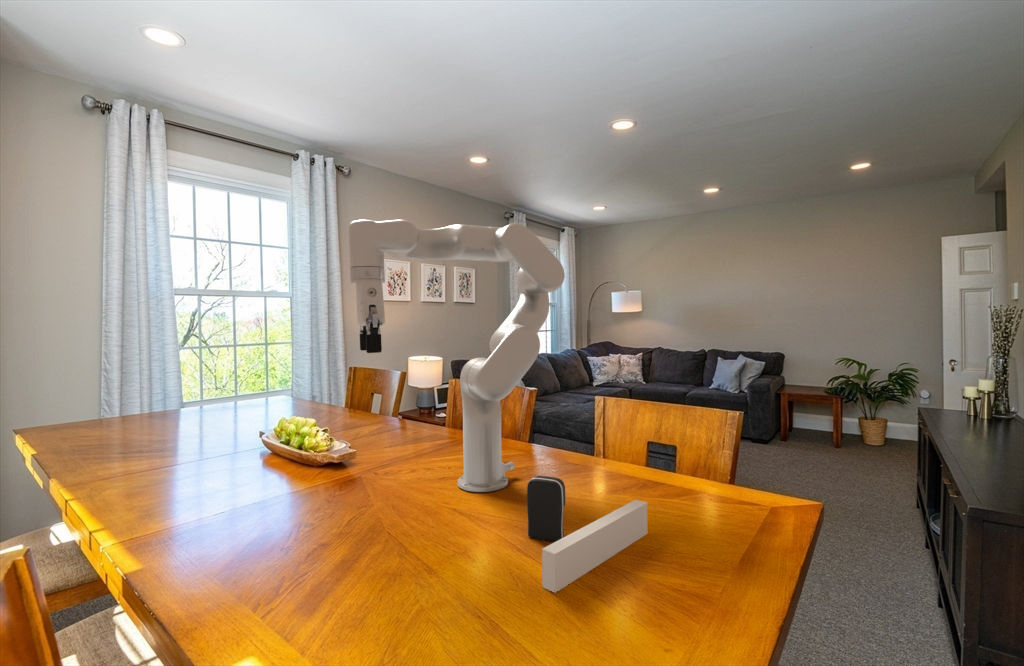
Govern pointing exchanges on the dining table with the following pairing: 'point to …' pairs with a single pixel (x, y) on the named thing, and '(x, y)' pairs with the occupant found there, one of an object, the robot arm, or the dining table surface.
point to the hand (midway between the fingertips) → (370, 351)
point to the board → (592, 545)
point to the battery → (545, 508)
